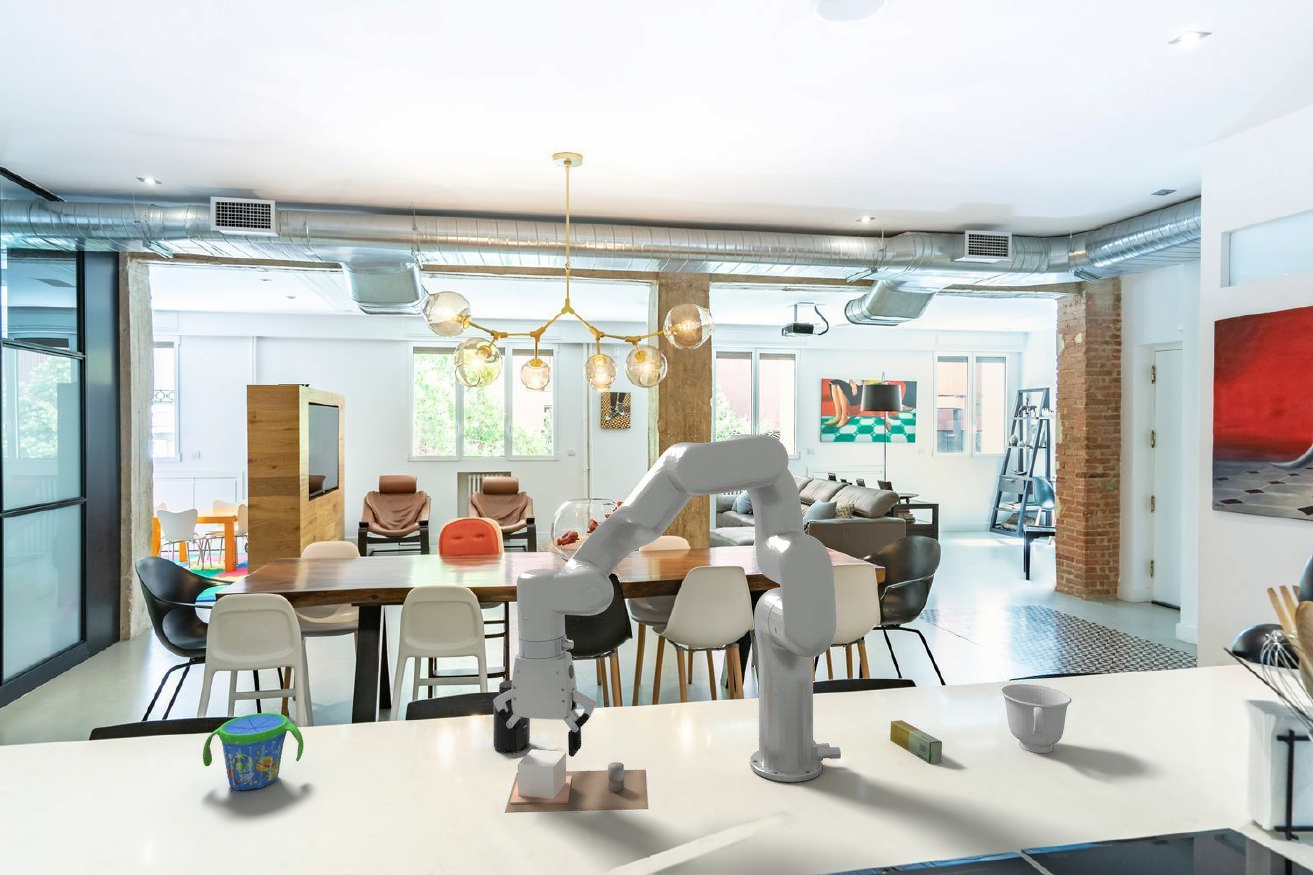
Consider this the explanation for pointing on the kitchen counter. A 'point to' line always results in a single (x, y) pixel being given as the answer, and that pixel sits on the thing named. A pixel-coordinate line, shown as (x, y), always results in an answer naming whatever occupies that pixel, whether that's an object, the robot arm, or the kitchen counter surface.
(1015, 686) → the teacup
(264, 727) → the snack cup
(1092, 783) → the kitchen counter surface
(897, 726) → the medication box
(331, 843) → the kitchen counter surface
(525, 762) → the matte white cube
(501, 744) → the supplement bottle
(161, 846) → the kitchen counter surface
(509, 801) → the post board
